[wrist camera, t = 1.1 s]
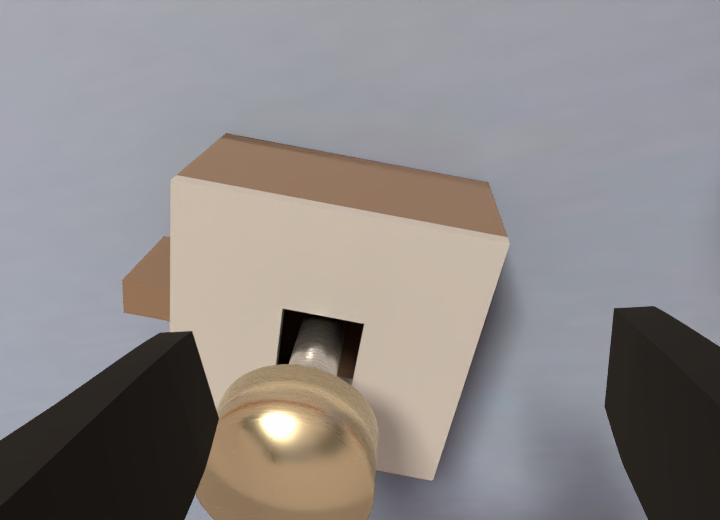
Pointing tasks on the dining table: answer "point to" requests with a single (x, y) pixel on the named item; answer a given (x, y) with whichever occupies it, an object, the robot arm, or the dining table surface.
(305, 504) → the plunger
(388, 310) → the tan box
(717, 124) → the dining table surface
